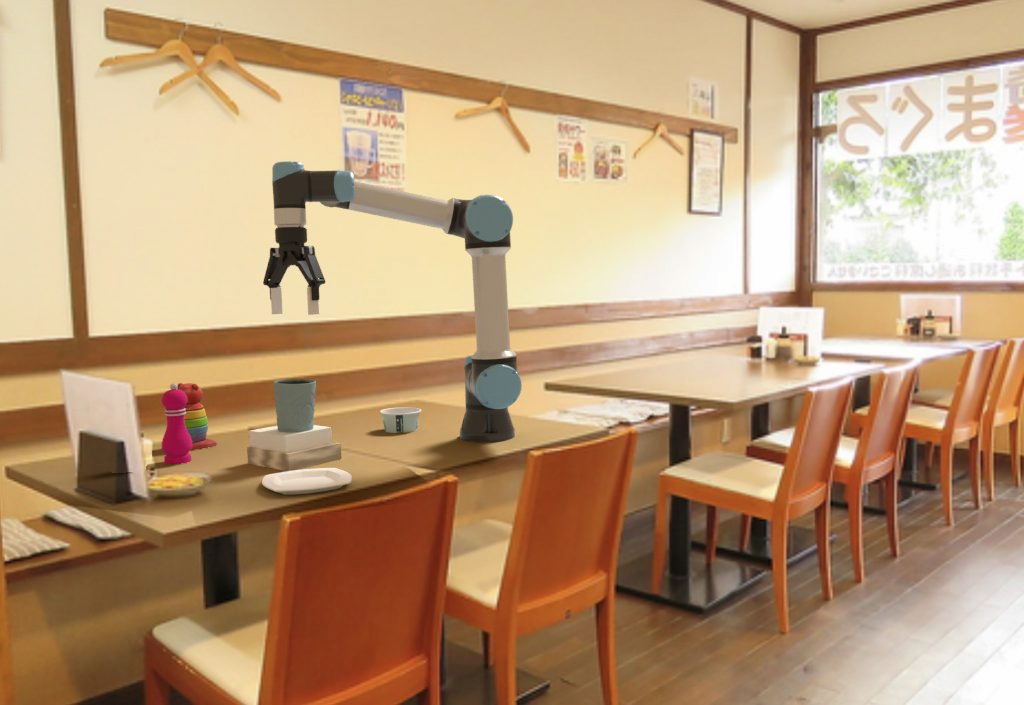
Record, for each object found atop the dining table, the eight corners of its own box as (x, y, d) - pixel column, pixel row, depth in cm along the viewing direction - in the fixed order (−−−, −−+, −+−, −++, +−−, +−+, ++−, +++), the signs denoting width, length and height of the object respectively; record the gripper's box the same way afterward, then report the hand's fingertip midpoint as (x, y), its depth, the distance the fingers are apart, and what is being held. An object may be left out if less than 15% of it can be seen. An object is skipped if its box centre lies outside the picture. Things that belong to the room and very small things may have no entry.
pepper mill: (157, 463, 221) (152, 383, 219) (184, 458, 227) (180, 380, 225) (170, 466, 216) (166, 385, 215) (198, 461, 222) (194, 382, 220)
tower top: (332, 443, 220) (331, 427, 219) (286, 453, 209) (285, 436, 208) (296, 437, 228) (295, 422, 228) (250, 446, 217) (249, 430, 217)
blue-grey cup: (278, 426, 222) (276, 379, 221) (319, 425, 223) (317, 377, 222) (272, 434, 212) (270, 384, 211) (315, 432, 213) (314, 382, 212)
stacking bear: (220, 445, 242) (217, 381, 241) (193, 452, 233) (189, 386, 232) (190, 443, 247) (187, 380, 245) (162, 450, 238) (159, 384, 236)
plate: (268, 502, 182) (268, 493, 182) (256, 482, 200) (256, 474, 199) (360, 491, 189) (360, 482, 189) (341, 473, 207) (341, 465, 207)
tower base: (341, 463, 220) (340, 443, 220) (289, 475, 207) (288, 454, 207) (300, 455, 230) (299, 436, 229) (248, 467, 217) (247, 447, 217)
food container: (424, 434, 253) (424, 412, 252) (382, 437, 250) (382, 414, 250) (418, 427, 265) (418, 406, 264) (378, 430, 262) (377, 408, 261)
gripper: (337, 224, 210) (341, 313, 212) (270, 229, 225) (274, 313, 227) (313, 223, 204) (317, 315, 206) (245, 229, 219) (250, 314, 221)
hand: (295, 314), depth 217 cm, fingers open, 13 cm apart
